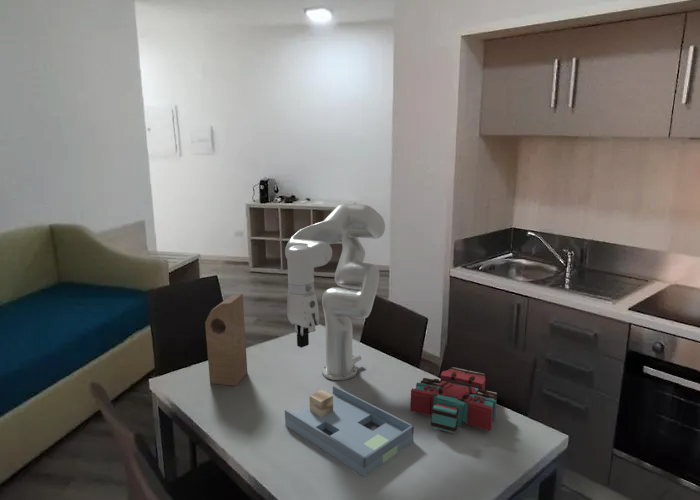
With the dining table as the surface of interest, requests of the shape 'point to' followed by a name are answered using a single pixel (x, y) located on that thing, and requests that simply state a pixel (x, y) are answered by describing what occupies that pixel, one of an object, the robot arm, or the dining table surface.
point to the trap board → (353, 431)
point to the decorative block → (227, 342)
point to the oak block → (321, 403)
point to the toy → (455, 400)
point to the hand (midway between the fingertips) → (303, 345)
